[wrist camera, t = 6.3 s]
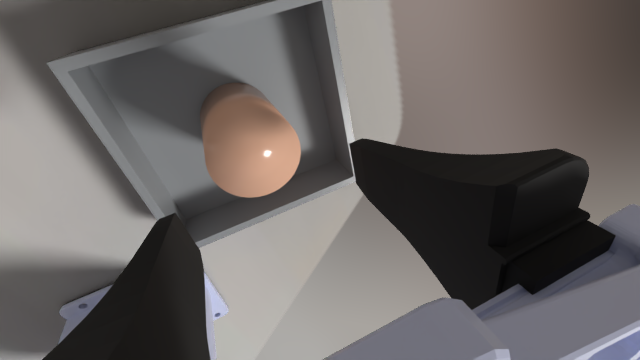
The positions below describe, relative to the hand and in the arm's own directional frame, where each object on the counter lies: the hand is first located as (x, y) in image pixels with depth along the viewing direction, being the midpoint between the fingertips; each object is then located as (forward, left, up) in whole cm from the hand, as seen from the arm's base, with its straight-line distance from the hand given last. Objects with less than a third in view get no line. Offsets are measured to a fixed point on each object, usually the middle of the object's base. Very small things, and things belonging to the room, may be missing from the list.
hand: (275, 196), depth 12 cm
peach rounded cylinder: (0, 0, -9) cm, 9 cm away
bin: (0, 0, -10) cm, 10 cm away
